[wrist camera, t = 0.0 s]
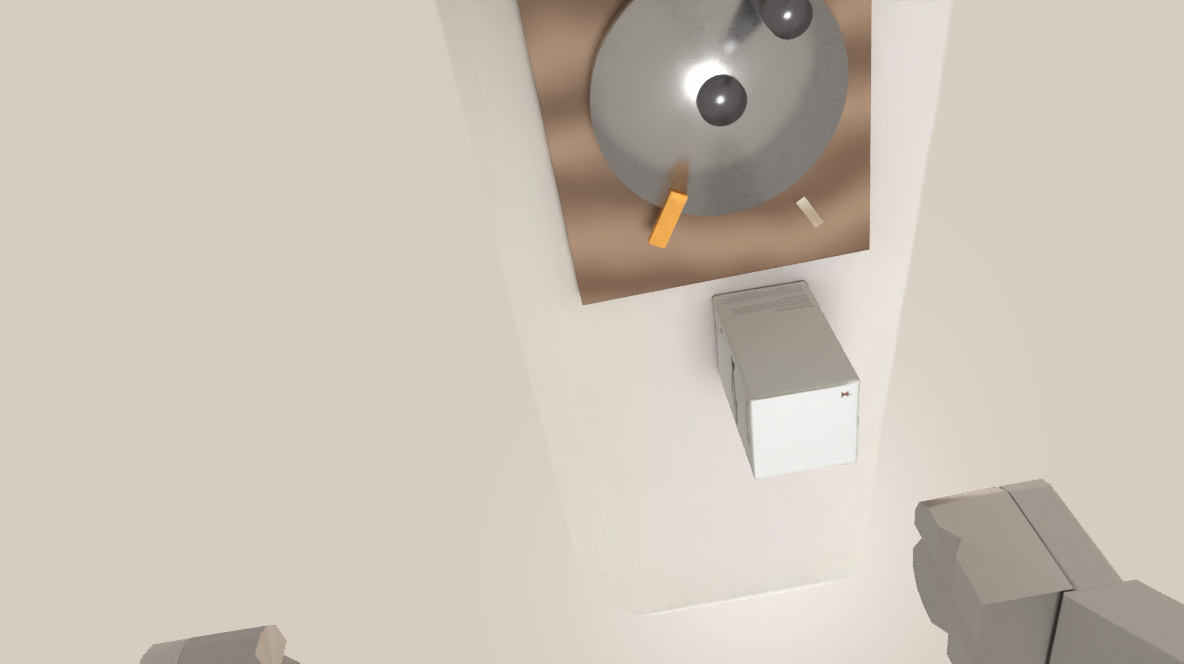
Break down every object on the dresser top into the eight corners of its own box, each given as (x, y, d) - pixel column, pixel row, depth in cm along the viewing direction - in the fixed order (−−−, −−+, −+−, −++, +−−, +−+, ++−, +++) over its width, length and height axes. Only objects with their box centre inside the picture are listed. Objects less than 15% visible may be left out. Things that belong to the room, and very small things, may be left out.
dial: (755, 262, 63) (779, 311, 57) (541, 200, 59) (546, 246, 53) (887, 8, 54) (931, 38, 48) (645, -88, 49) (664, -66, 44)
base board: (492, -123, 49) (492, -119, 48) (863, -200, 49) (874, -198, 47) (581, 294, 65) (582, 306, 64) (862, 239, 65) (870, 250, 63)
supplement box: (709, 294, 66) (749, 398, 56) (807, 278, 66) (865, 379, 56) (714, 371, 70) (752, 482, 60) (806, 357, 70) (860, 465, 60)
